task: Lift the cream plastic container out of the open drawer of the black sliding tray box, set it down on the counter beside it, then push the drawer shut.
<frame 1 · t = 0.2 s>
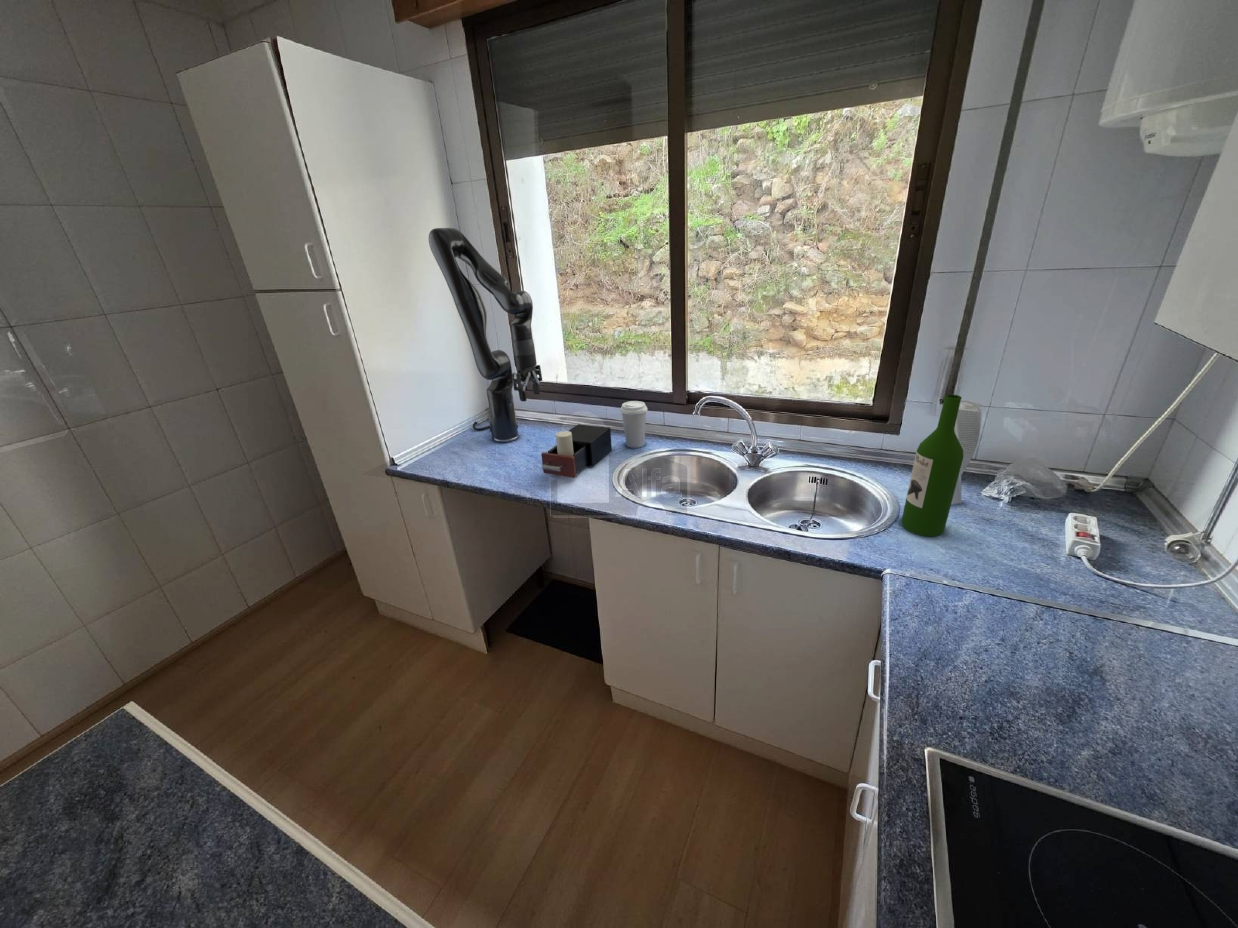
hand: (530, 397, 174), 17 cm above the worktop, tool pointing down, fingers open, 8 cm apart
coffee cup: (635, 444, 175), on the worktop
container: (567, 465, 156), point 2 cm above the worktop, touching drawer
black sliding tray box: (586, 456, 167), on the worktop
drawer: (565, 460, 154), point 4 cm above the worktop, slide at 9.5 cm, touching container
light grey vase: (943, 500, 128), on the worktop
wine bottle: (921, 527, 117), on the worktop
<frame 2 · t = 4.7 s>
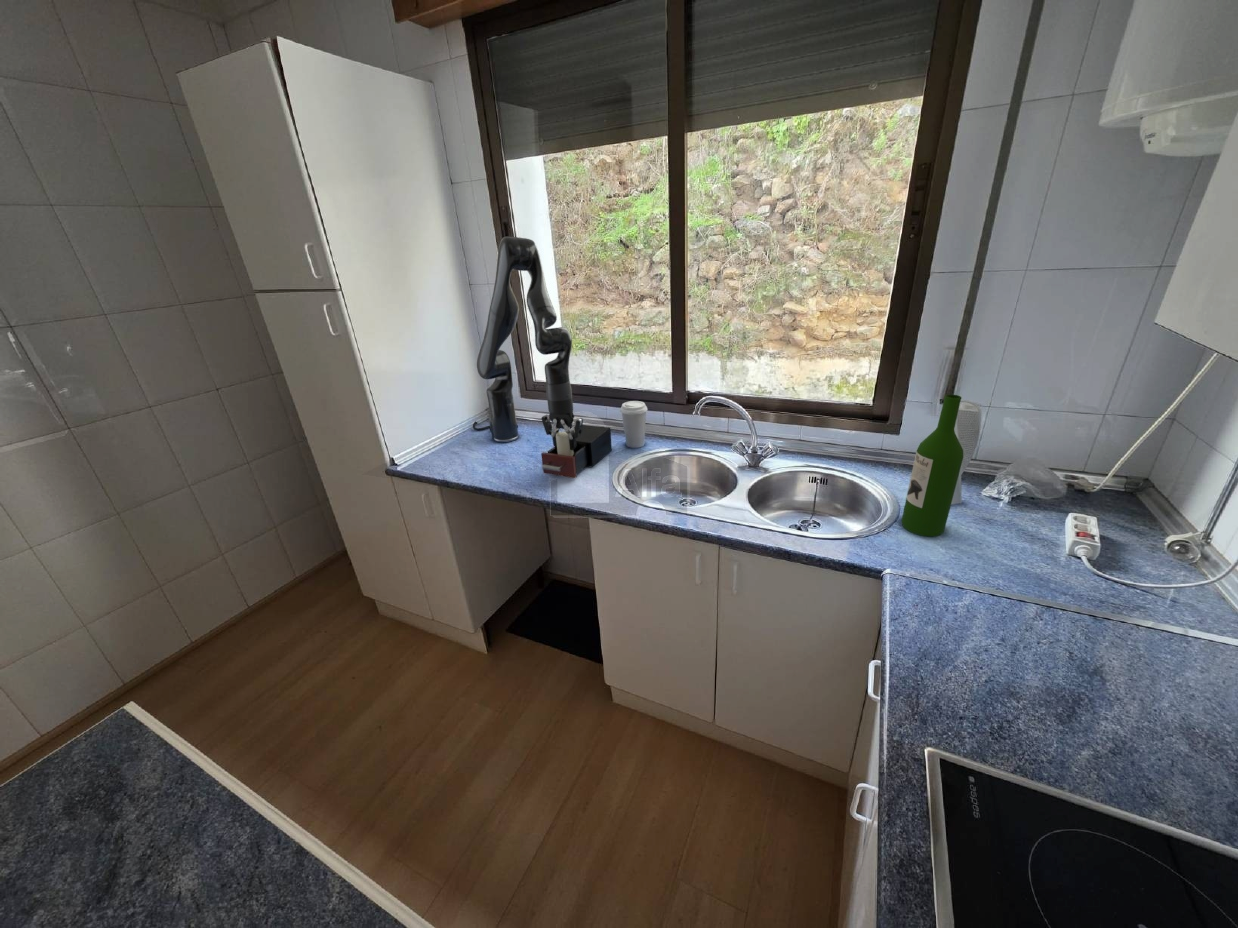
hand: (565, 448, 153), 8 cm above the worktop, tool pointing down, fingers closed on container, 5 cm apart
container: (567, 465, 156), point 2 cm above the worktop, touching drawer, gripper
everything else where it was.
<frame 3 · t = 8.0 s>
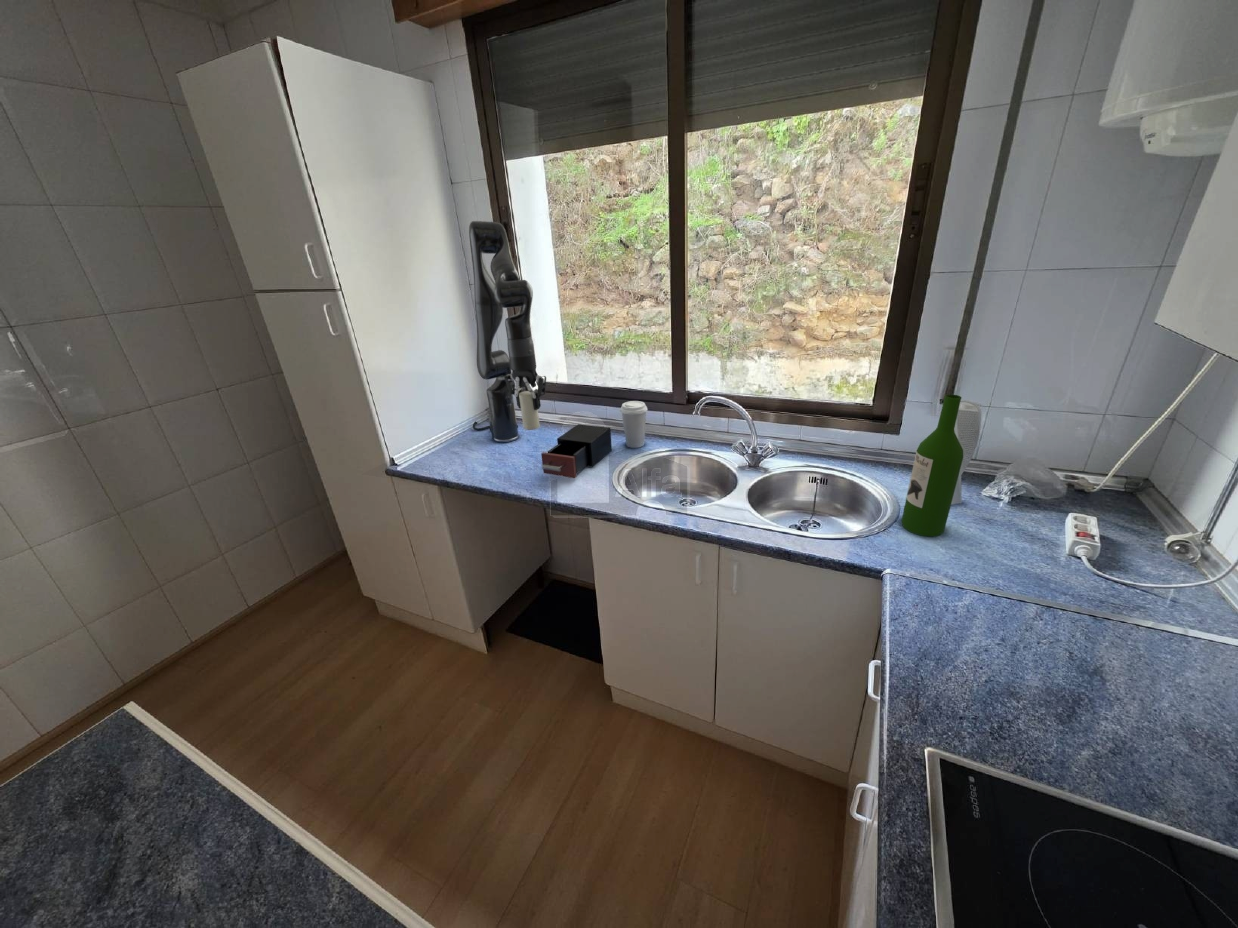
hand: (529, 408, 149), 21 cm above the worktop, tool pointing down, fingers closed on container, 5 cm apart
container: (531, 427, 152), point 15 cm above the worktop, touching gripper
drawer: (565, 460, 154), point 4 cm above the worktop, slide at 9.5 cm
everything else where it was.
when the fingers open (6 cm above the worktop, at t = 11.9 s): container stays where it is, on the worktop.
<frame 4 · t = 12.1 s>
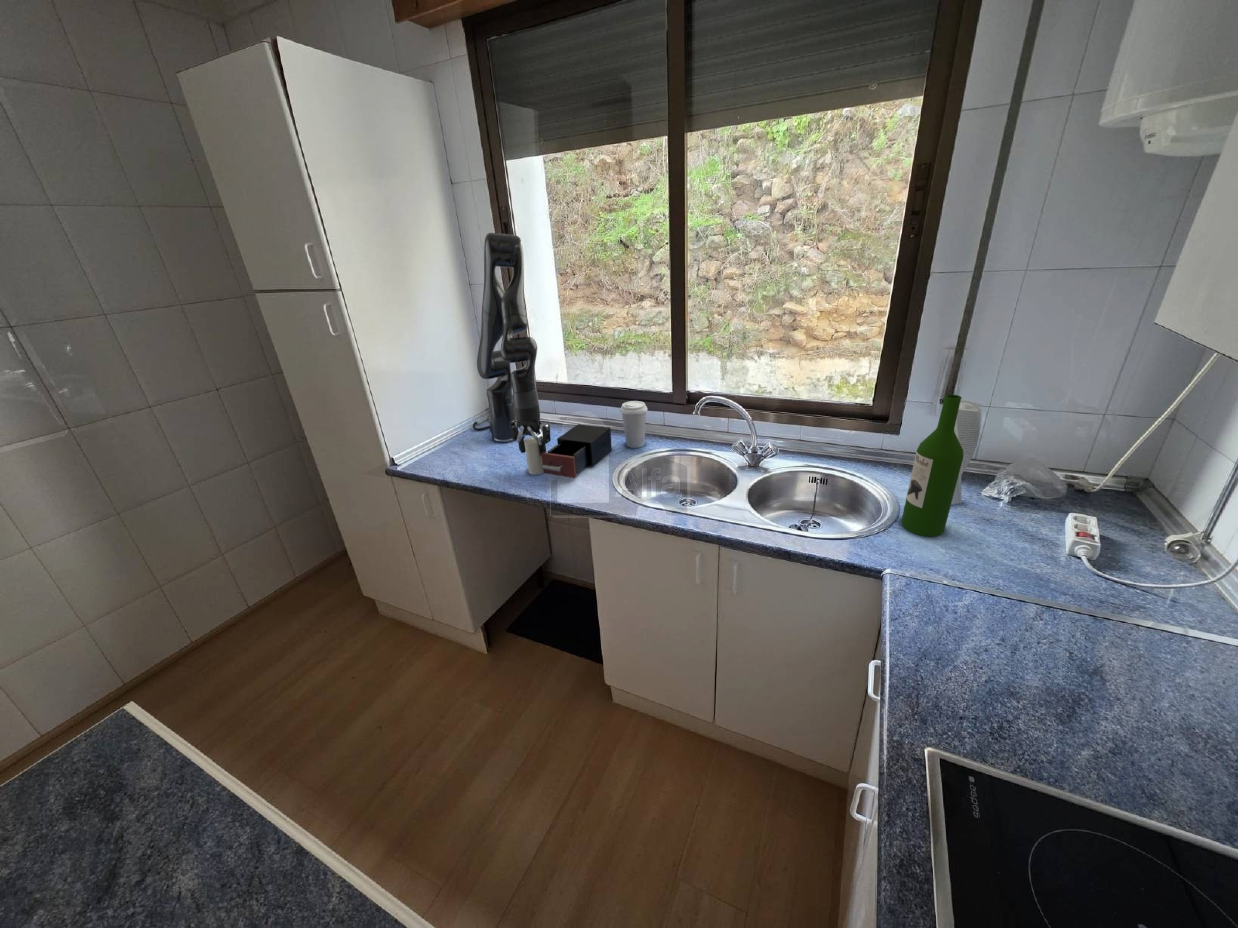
hand: (532, 453, 156), 6 cm above the worktop, tool pointing down, fingers open, 6 cm apart
container: (536, 471, 158), on the worktop
everything else where it was.
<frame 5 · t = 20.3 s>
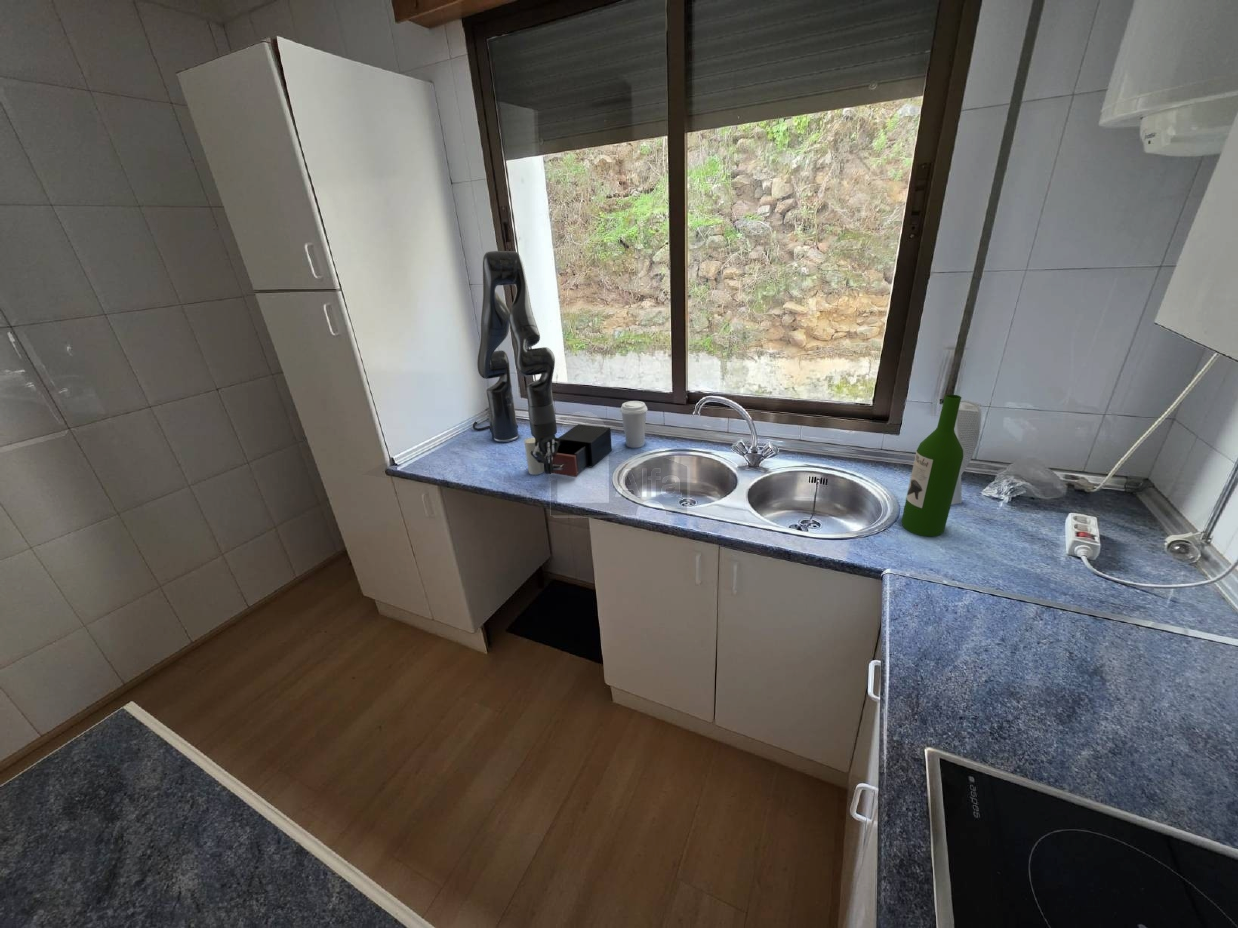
hand: (549, 472, 147), 4 cm above the worktop, tool pointing down, fingers closed
drawer: (566, 458, 155), point 4 cm above the worktop, slide at 8.6 cm, touching gripper
everything else where it was.
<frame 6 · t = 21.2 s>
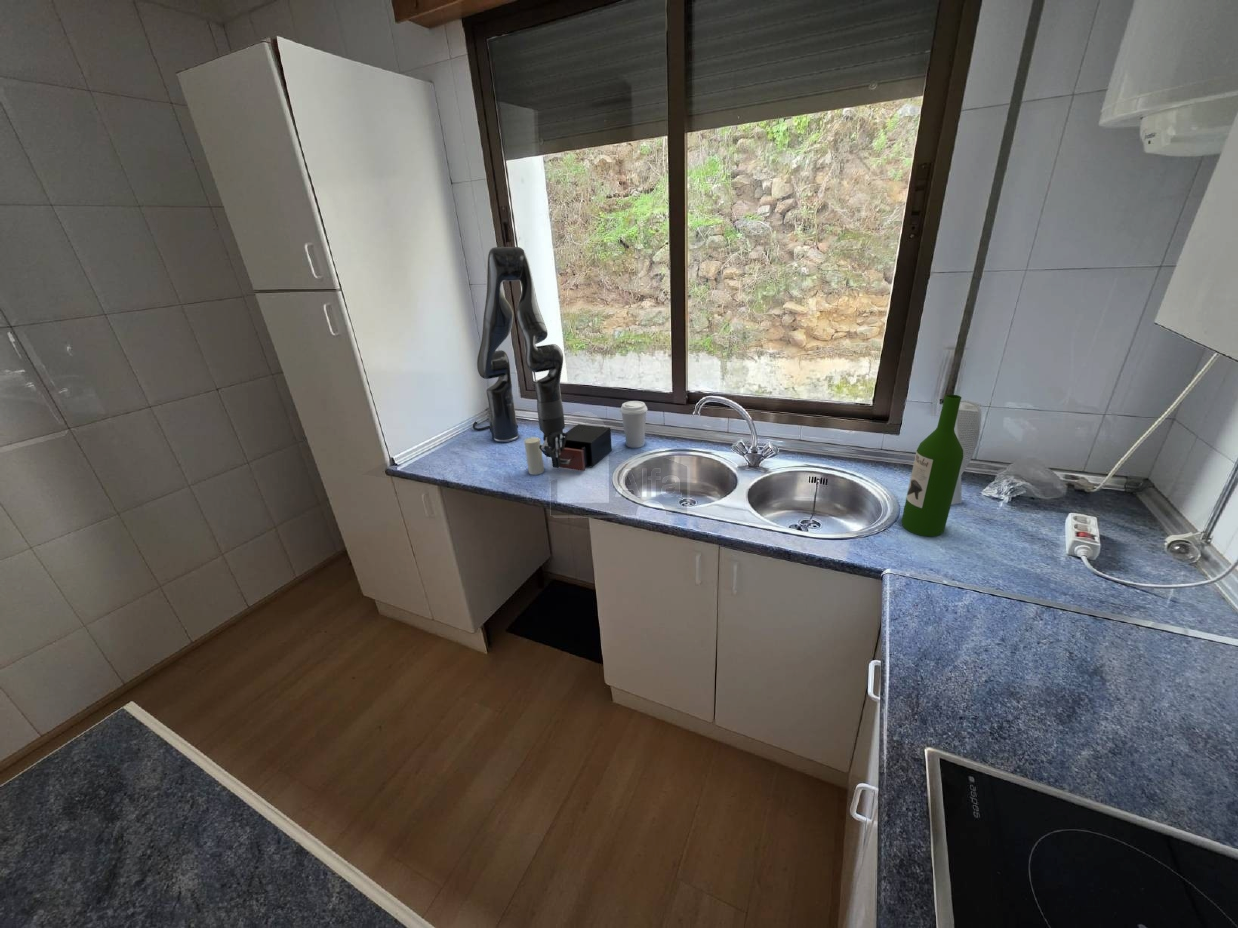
hand: (556, 467, 150), 4 cm above the worktop, tool pointing down, fingers closed
drawer: (573, 453, 159), point 4 cm above the worktop, slide at 4.1 cm, touching gripper
everything else where it was.
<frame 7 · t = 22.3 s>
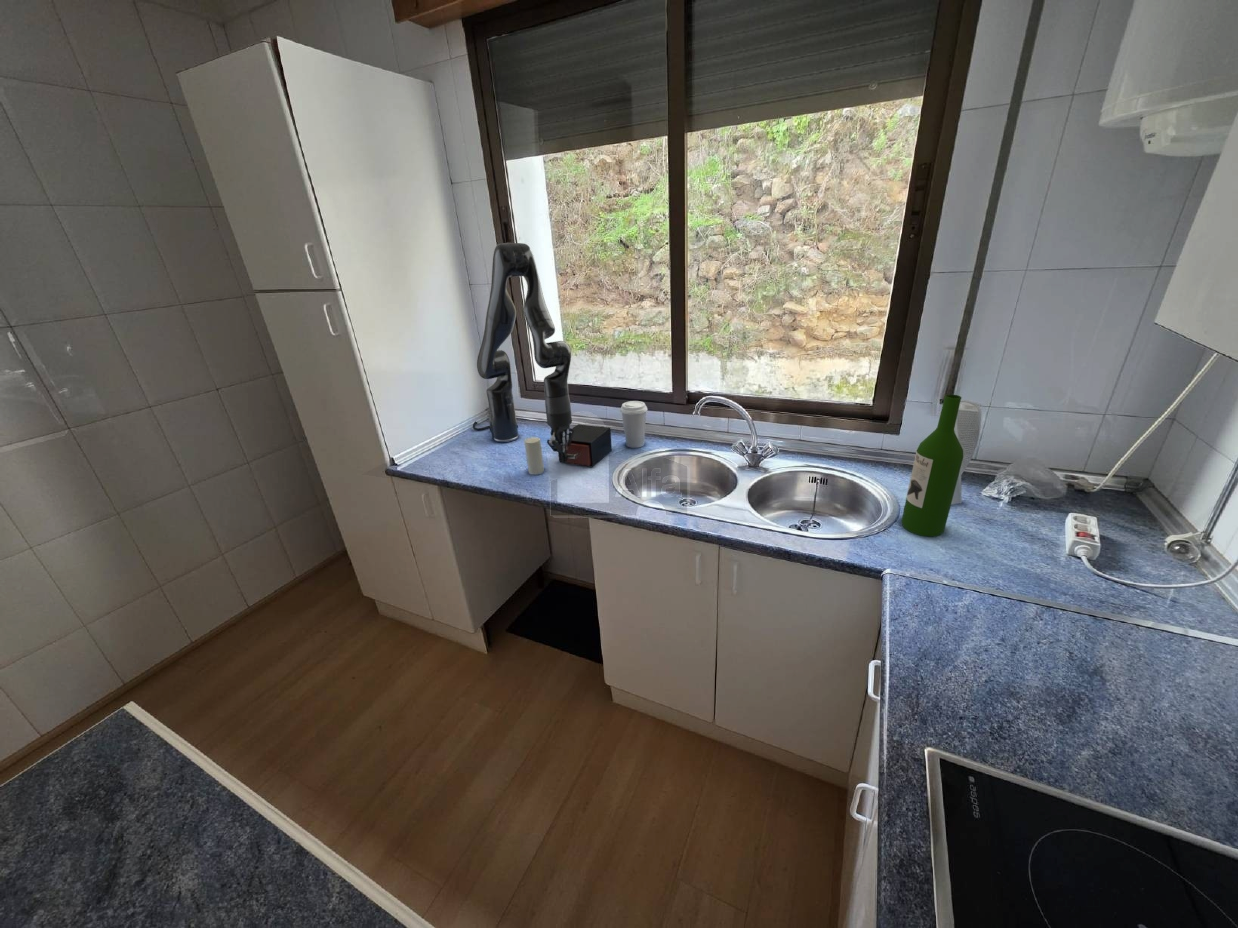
hand: (563, 461, 154), 4 cm above the worktop, tool pointing down, fingers closed
drawer: (579, 448, 162), point 4 cm above the worktop, slide at 0.0 cm, touching black sliding tray box, gripper
everything else where it was.
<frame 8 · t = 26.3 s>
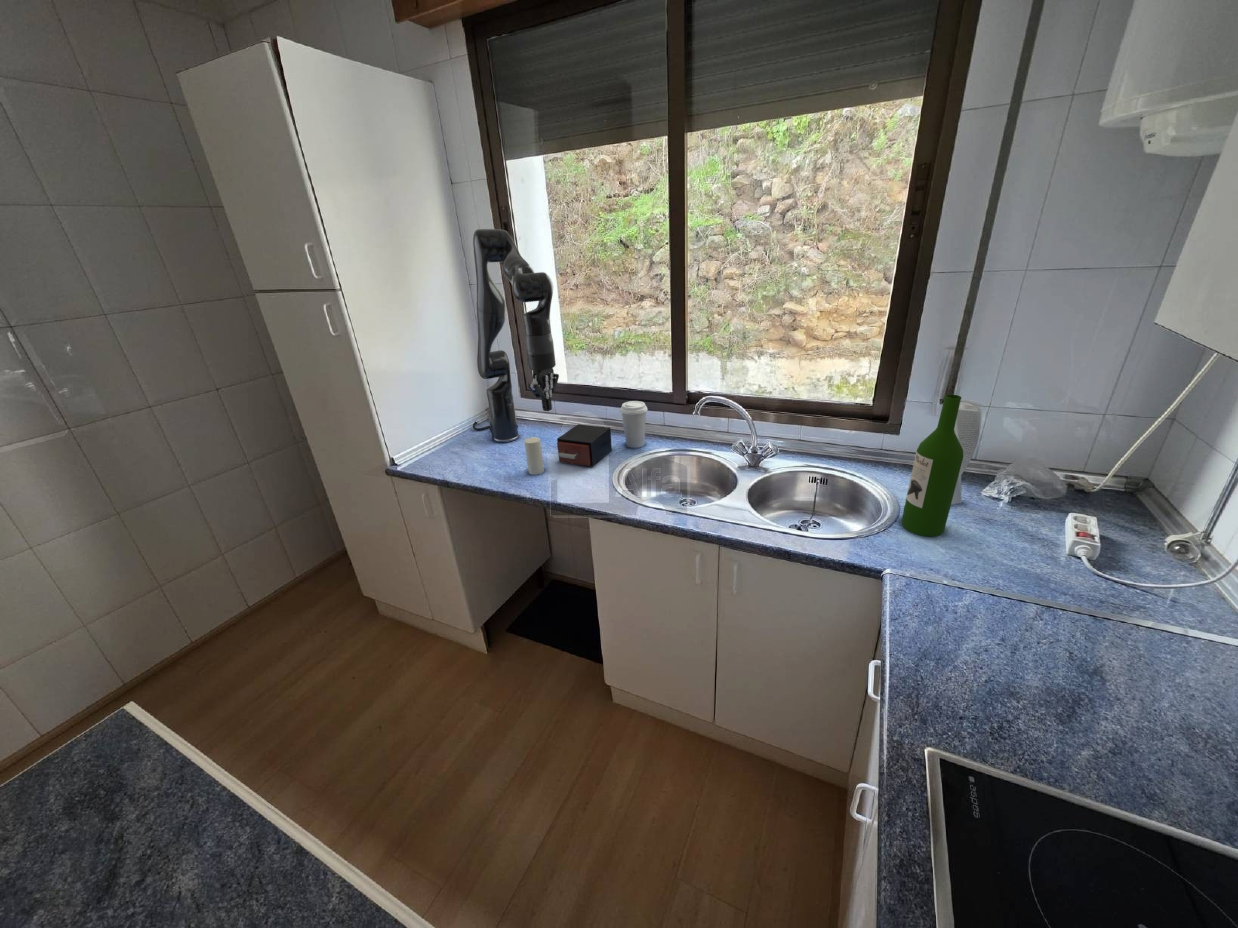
hand: (547, 410, 141), 23 cm above the worktop, tool pointing down, fingers closed
drawer: (579, 448, 162), point 4 cm above the worktop, slide at 0.0 cm
everything else where it was.
at the end: container inside the target area (0.1 cm from its centre), on the worktop; container tilted 0°; drawer slide at 0.0 cm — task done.
